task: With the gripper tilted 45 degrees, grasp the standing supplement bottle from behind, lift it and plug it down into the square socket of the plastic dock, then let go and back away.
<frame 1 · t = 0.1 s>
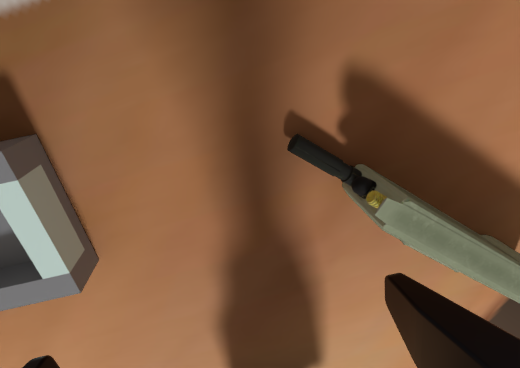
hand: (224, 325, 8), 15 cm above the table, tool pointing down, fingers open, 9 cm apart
handheld radio: (410, 207, 26), on the table
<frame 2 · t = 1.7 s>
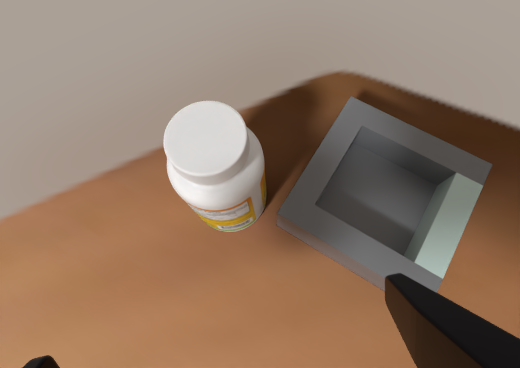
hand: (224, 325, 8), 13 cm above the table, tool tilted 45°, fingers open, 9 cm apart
supplement bottle: (231, 198, 24), on the table
dock: (370, 203, 23), on the table
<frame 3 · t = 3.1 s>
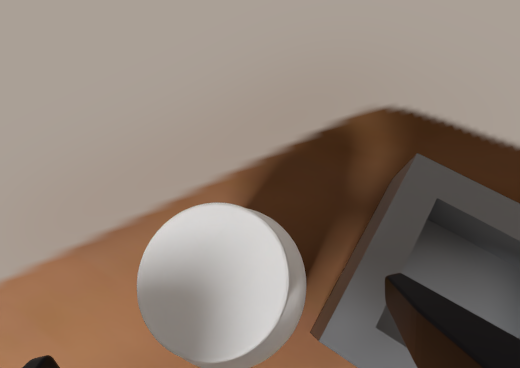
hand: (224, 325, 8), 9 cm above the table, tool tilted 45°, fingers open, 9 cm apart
supplement bottle: (245, 288, 17), on the table
dock: (441, 301, 16), on the table
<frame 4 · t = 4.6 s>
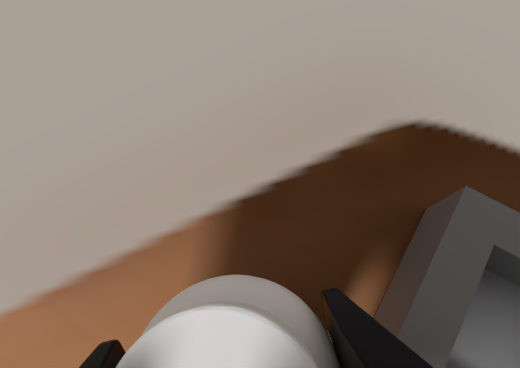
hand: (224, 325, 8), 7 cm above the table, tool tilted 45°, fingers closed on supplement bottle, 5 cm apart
supplement bottle: (252, 345, 14), on the table, touching gripper
dock: (491, 364, 13), on the table
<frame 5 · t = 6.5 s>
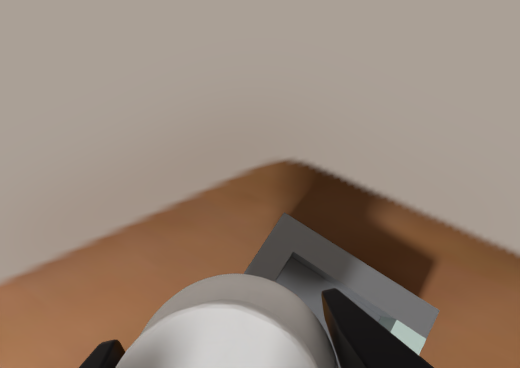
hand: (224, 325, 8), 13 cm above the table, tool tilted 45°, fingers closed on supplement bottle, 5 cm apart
supplement bottle: (250, 344, 14), point 6 cm above the table, touching gripper
dock: (306, 330, 20), on the table
when the fingers open (9 cm above the table, at t = 8.7 s): supplement bottle stays where it is, resting on dock.
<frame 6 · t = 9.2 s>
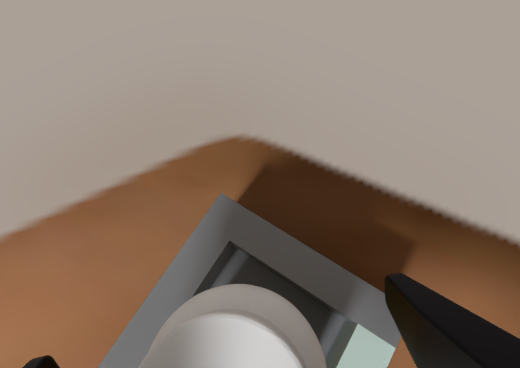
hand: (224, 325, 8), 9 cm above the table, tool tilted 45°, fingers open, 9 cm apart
supplement bottle: (251, 345, 16), point 1 cm above the table, touching dock
dock: (254, 339, 16), on the table
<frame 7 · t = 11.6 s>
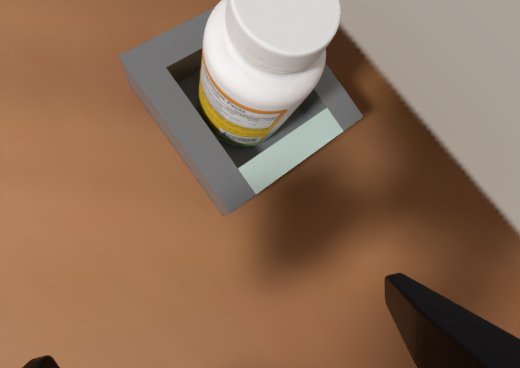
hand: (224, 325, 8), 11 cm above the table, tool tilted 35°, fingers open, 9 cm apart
supplement bottle: (240, 108, 20), point 1 cm above the table, touching dock
dock: (240, 111, 21), on the table
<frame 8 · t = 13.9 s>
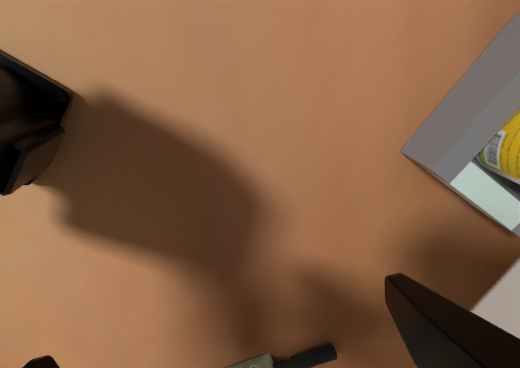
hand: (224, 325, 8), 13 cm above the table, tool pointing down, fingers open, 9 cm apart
supplement bottle: (505, 130, 21), point 1 cm above the table, touching dock
dock: (498, 129, 22), on the table
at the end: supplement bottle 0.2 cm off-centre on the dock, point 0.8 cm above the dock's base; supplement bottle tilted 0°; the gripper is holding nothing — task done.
